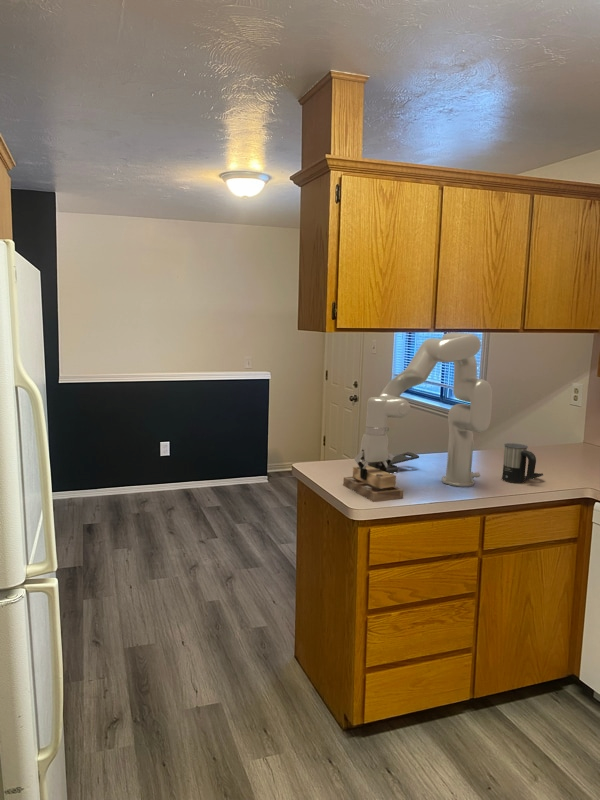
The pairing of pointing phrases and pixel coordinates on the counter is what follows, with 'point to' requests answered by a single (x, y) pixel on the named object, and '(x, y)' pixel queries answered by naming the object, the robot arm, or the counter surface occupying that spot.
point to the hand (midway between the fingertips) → (372, 477)
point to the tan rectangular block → (376, 477)
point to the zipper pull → (395, 460)
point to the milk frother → (518, 463)
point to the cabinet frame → (373, 490)
